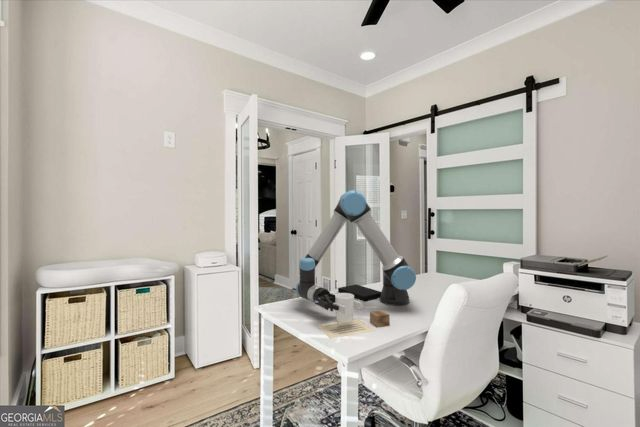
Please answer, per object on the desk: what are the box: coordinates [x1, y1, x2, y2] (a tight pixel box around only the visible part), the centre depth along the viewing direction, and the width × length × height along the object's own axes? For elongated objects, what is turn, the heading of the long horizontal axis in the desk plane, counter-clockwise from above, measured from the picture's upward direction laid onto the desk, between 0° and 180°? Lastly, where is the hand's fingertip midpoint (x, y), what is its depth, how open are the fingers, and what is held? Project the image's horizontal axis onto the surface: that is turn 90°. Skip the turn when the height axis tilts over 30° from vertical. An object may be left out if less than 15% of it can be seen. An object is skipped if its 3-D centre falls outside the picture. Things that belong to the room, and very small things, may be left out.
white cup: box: [334, 292, 355, 322], centre depth 129 cm, size 8×8×10 cm
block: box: [369, 309, 391, 328], centre depth 132 cm, size 6×6×5 cm
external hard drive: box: [337, 283, 381, 303], centre depth 178 cm, size 14×23×3 cm, turn 34°
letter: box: [316, 318, 377, 339], centre depth 129 cm, size 20×15×1 cm
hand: (352, 308), depth 125 cm, fingers closed on white cup, 7 cm apart
